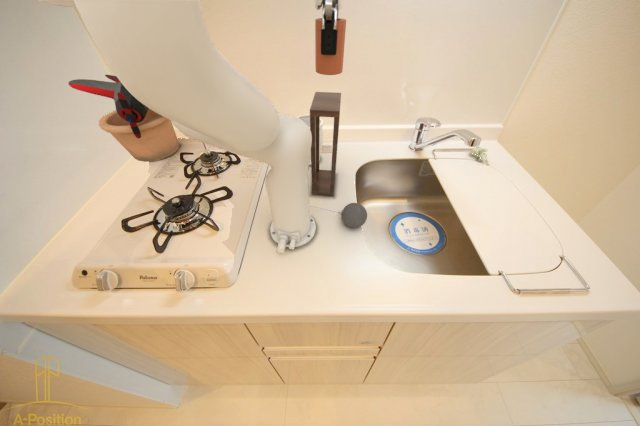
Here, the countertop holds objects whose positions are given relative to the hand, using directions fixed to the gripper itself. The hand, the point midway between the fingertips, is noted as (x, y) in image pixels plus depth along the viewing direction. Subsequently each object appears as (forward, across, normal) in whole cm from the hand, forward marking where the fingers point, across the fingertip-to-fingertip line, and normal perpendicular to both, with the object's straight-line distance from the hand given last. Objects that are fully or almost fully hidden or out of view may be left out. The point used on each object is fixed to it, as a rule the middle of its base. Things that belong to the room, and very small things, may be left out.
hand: (329, 50), depth 47 cm
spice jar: (+4, 0, 0) cm, 4 cm away
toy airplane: (+10, -11, -61) cm, 62 cm away
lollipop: (+32, +17, +2) cm, 36 cm away
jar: (+37, -14, -7) cm, 40 cm away
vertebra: (+36, -20, +57) cm, 70 cm away
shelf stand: (+37, +1, 0) cm, 37 cm away
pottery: (+37, -13, -69) cm, 80 cm away
